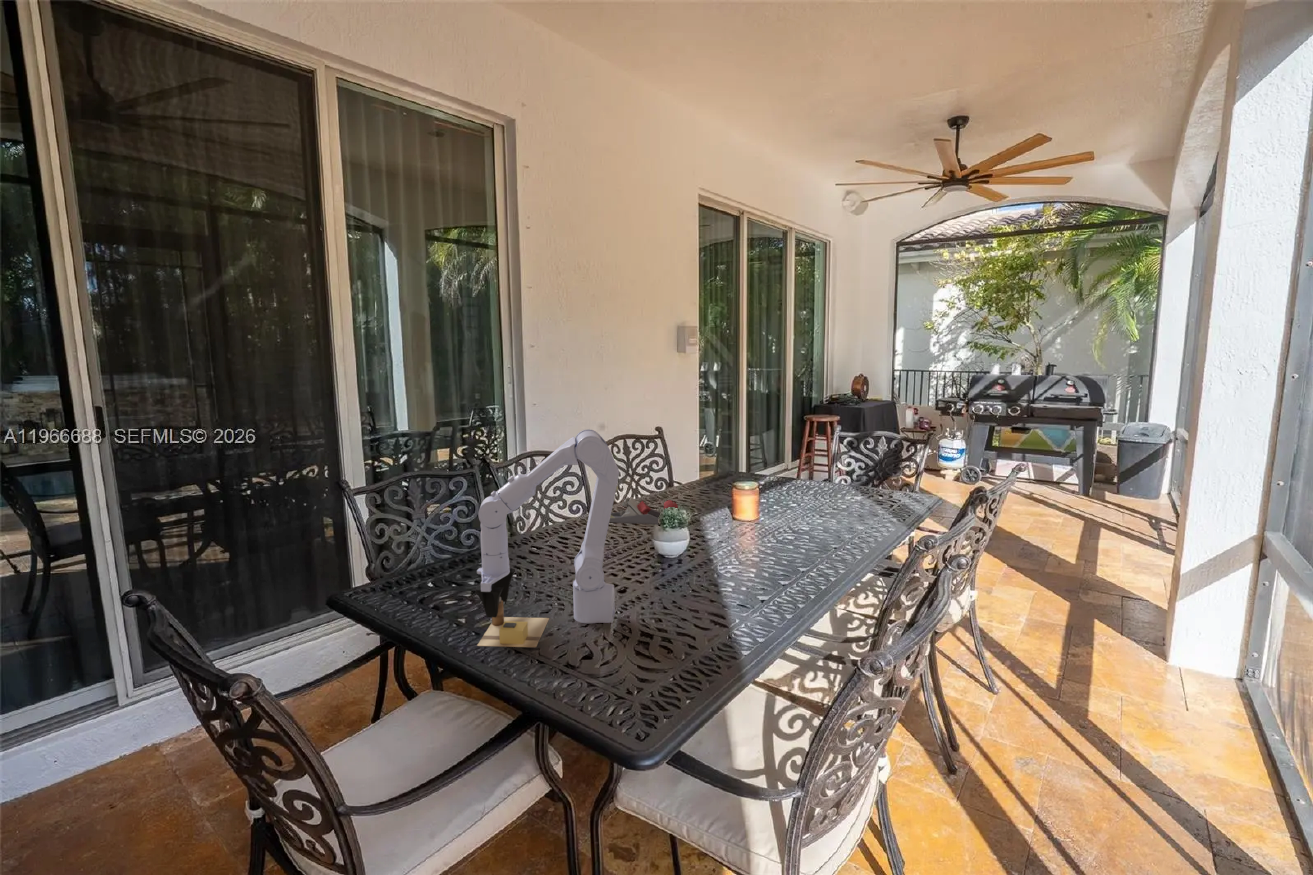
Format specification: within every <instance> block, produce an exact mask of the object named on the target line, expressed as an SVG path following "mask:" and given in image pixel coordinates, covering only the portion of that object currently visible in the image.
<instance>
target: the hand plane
mask: <svg viewBox="0 0 1313 875" xmlns="http://www.w3.org/2000/svg"><path fill="white" fill-rule="evenodd" d="M618 490H619V486H618V485H617V487H616V492H618ZM621 506H622V507H623V508H626V509H620V510H619V511H617V512H611V516H610V521H609V523H617V524H619V523H620V524H640V525H641V524H642V525H643V524H645V525H647V524H648V525H658V524H657V523H658V519H659V518H658V517H659V515H660V513H661V512H660V511H657V510H655V509H653V508H651V507H649V506H648V504H646V502H644V501H643V500H642V501H640V502H639V503H638V501H636V499H634V497H633V496H631V497H629V496H627V497H626V498H624V499H623V502H622V503H621ZM668 507H675V508H678V509H679V505H678V504H677V503H676V502H675V501H674V500H671V499H667V500H666V501H664V503H663V510H664V509H665V508H668Z"/></svg>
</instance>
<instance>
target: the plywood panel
mask: <svg viewBox="0 0 1313 875" xmlns="http://www.w3.org/2000/svg"><path fill="white" fill-rule="evenodd" d="M505 621H514V622H528V636H527V638H526V640H525V642H524V644H500V637H499V630H500V628H501V626H502V625H500V626H494V625H492V622H491V623H490V625H489V626H488V628H487V629H486V631H485V632H484V633H483V635H482V637H481V638H480V640H479V642H478V643H477V644H476V646H477V647H503V648H504V647H505V648H506V647H508V648H509V647H510V648H512V647H513V648H514V647H515V648H537V646H538V644H539V642H540V640H541V638H542V636H543V633H544V631H545V629H546V627H547V625H548V622H549V621H550V617H526V616H525V617H520V616H519V617H518V616H515V617H513V616H504V622H505Z"/></svg>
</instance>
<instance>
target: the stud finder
mask: <svg viewBox="0 0 1313 875" xmlns="http://www.w3.org/2000/svg"><path fill="white" fill-rule="evenodd" d="M527 636H528V622H514V621H505V622H504V623H503V625H502V626H501V628H500V630H499V637H500V644H524V642H525V640H526V638H527Z"/></svg>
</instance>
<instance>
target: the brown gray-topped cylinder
mask: <svg viewBox="0 0 1313 875" xmlns="http://www.w3.org/2000/svg"><path fill="white" fill-rule="evenodd" d="M504 610H505V609H504V602H503V601H502V600H501V597H500V599H499V606H498V614H497V617H491V623H492V625H494V626H500V625H503V623H504V617H505V616H504V615H505V613H504Z"/></svg>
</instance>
